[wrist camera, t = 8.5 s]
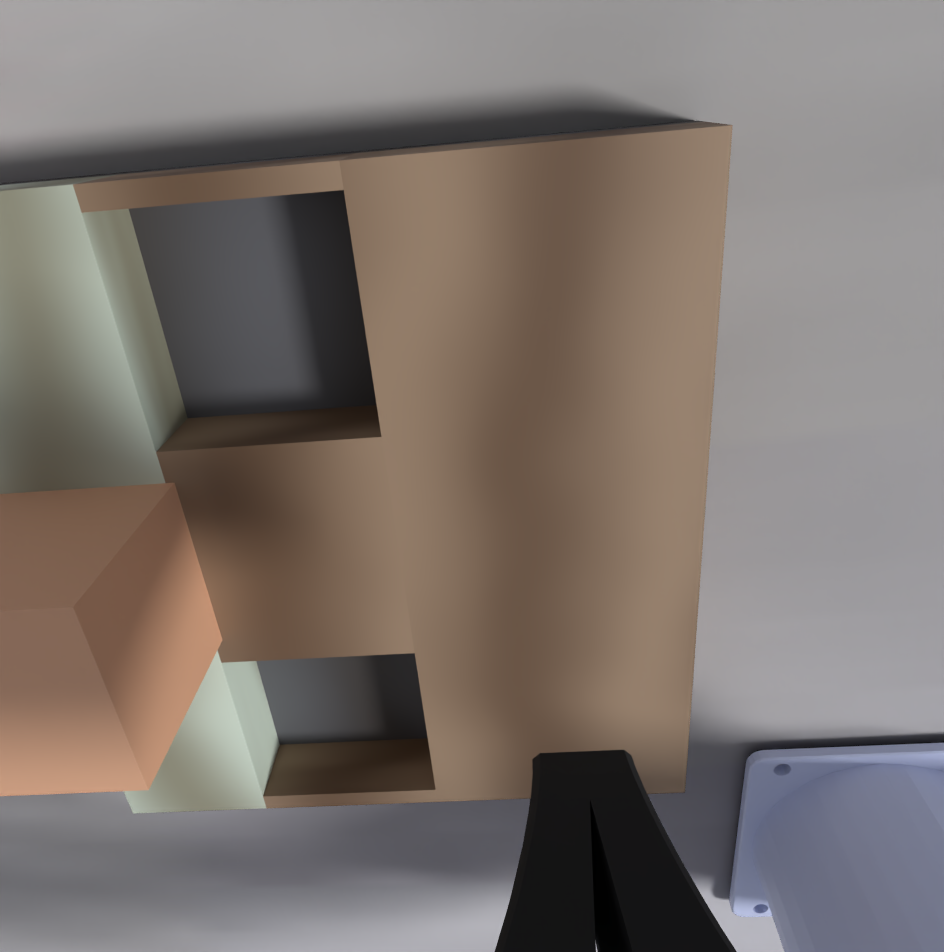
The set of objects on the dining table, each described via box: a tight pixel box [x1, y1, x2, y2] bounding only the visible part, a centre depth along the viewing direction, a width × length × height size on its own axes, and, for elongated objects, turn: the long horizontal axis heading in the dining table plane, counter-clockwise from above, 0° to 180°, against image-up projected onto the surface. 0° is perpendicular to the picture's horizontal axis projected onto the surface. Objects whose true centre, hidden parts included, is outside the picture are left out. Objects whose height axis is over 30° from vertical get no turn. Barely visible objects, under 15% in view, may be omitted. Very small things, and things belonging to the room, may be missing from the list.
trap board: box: [0, 121, 732, 813], centre depth 18 cm, size 16×17×2 cm
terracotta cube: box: [0, 483, 222, 796], centre depth 16 cm, size 4×4×4 cm
